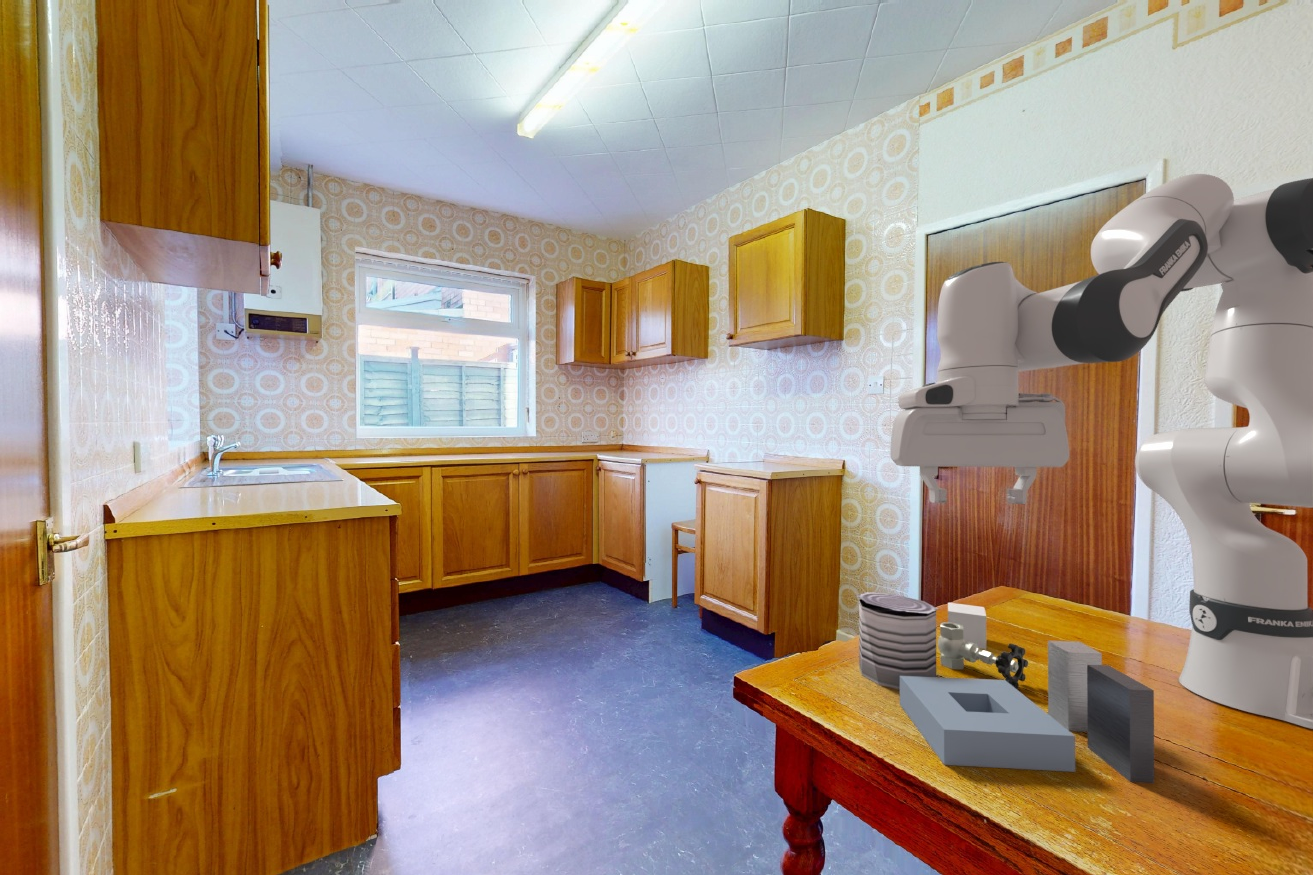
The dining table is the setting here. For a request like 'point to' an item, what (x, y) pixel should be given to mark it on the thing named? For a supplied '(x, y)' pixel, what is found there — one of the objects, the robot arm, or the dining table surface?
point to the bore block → (985, 724)
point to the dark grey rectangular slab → (1121, 722)
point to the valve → (978, 654)
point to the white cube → (969, 622)
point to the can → (896, 638)
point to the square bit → (1069, 682)
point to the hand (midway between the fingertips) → (976, 503)
